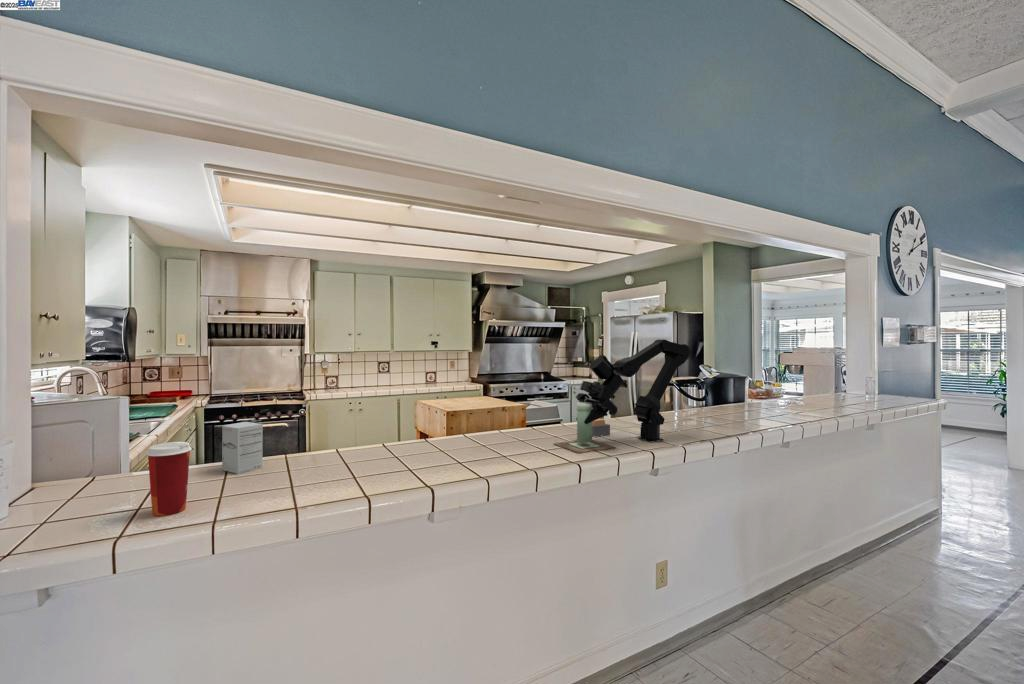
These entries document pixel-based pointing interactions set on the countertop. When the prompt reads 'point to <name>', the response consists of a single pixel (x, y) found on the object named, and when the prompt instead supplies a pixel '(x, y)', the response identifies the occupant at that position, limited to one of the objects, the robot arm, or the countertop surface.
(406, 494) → the countertop surface
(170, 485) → the paper cup
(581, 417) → the green capped bottle
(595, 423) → the button
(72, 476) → the countertop surface
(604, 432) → the button box
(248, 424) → the supplement box
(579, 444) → the picture board
